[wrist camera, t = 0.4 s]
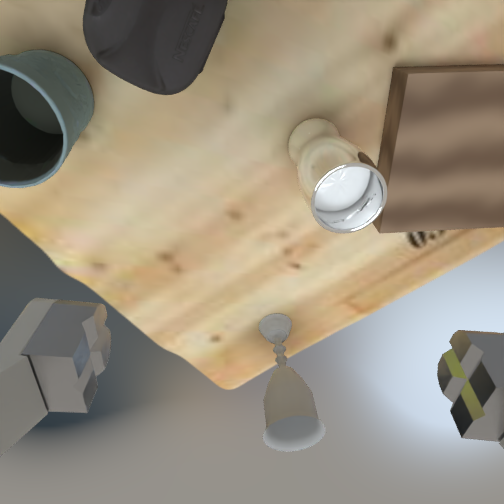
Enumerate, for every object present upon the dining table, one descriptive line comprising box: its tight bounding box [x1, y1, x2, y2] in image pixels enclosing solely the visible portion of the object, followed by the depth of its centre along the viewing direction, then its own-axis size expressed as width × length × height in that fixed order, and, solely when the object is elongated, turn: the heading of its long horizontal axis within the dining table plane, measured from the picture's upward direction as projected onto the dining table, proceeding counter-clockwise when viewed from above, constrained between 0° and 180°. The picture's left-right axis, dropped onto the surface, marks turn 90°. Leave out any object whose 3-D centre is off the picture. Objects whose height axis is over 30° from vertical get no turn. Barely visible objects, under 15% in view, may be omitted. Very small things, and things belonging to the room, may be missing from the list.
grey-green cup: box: [0, 50, 94, 188], centre depth 37 cm, size 10×10×12 cm
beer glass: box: [288, 118, 387, 233], centre depth 40 cm, size 7×7×15 cm
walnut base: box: [372, 64, 504, 233], centre depth 46 cm, size 18×18×4 cm
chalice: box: [259, 314, 325, 451], centre depth 54 cm, size 7×7×18 cm
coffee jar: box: [83, 0, 228, 95], centre depth 31 cm, size 10×8×19 cm
